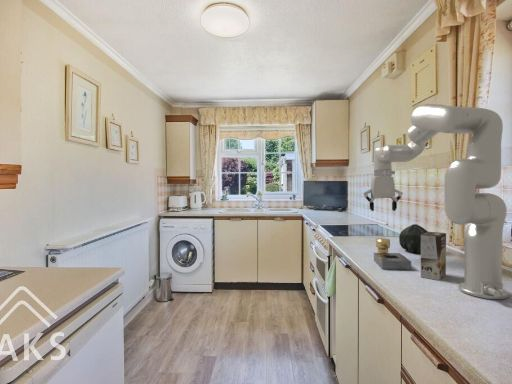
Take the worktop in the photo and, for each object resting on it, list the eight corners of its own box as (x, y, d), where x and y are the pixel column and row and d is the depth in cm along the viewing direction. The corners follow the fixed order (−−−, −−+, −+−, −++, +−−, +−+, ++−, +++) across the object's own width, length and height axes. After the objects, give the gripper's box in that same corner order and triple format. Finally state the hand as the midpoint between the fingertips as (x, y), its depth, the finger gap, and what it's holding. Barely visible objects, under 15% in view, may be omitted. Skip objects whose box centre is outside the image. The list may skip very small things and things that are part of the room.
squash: (418, 236, 160) (404, 217, 157) (443, 243, 146) (429, 221, 142) (402, 256, 158) (387, 236, 154) (426, 264, 144) (411, 243, 140)
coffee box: (439, 280, 107) (439, 236, 106) (420, 277, 111) (420, 234, 111) (446, 274, 113) (446, 232, 113) (427, 271, 118) (427, 231, 117)
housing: (411, 270, 120) (411, 261, 120) (382, 269, 122) (382, 260, 121) (399, 260, 134) (399, 253, 134) (373, 260, 135) (373, 252, 135)
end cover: (391, 259, 137) (391, 240, 137) (378, 258, 138) (377, 240, 138) (387, 255, 143) (387, 238, 143) (374, 255, 144) (374, 238, 144)
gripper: (399, 173, 142) (400, 209, 142) (361, 174, 144) (362, 210, 145) (405, 173, 134) (405, 211, 135) (365, 174, 137) (365, 211, 137)
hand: (383, 210), depth 140 cm, fingers open, 9 cm apart
